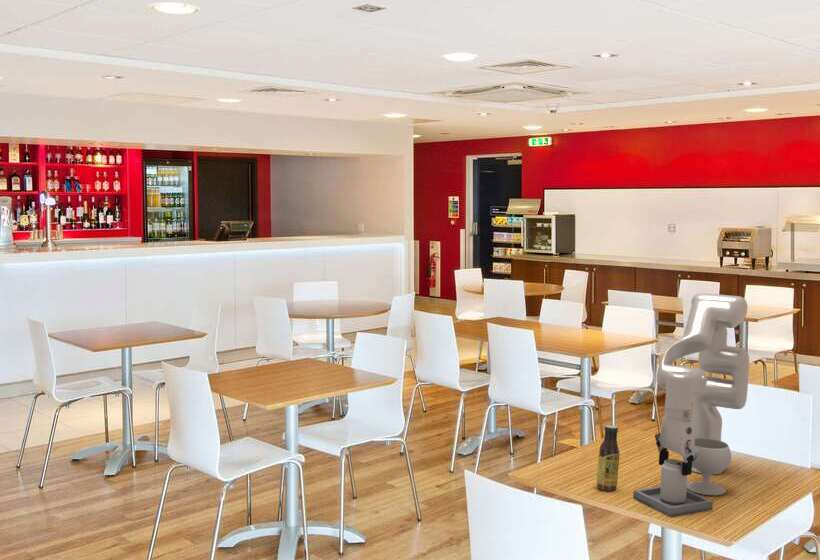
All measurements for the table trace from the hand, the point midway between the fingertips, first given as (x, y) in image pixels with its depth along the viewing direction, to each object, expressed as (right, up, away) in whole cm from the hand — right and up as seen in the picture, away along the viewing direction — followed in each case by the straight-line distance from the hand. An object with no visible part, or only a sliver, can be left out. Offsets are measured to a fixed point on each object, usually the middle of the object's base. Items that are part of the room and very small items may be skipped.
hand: (674, 469), depth 256 cm
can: (0, -10, +1) cm, 10 cm away
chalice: (+14, -10, +14) cm, 22 cm away
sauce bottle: (-17, -9, +12) cm, 23 cm away
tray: (-1, -10, +1) cm, 10 cm away
